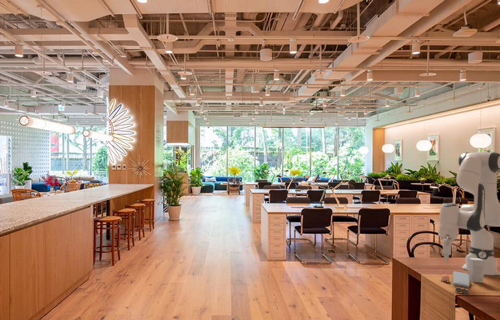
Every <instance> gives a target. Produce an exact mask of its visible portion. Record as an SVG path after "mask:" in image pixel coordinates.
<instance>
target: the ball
mask: <svg viewBox="0 0 500 320" xmlns="http://www.w3.org/2000/svg"><path fill="white" fill-rule="evenodd" d="M441 279H442V282H444V281H447V282H449V281H450V276H449V275H448V274H443V275H441Z"/></svg>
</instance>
